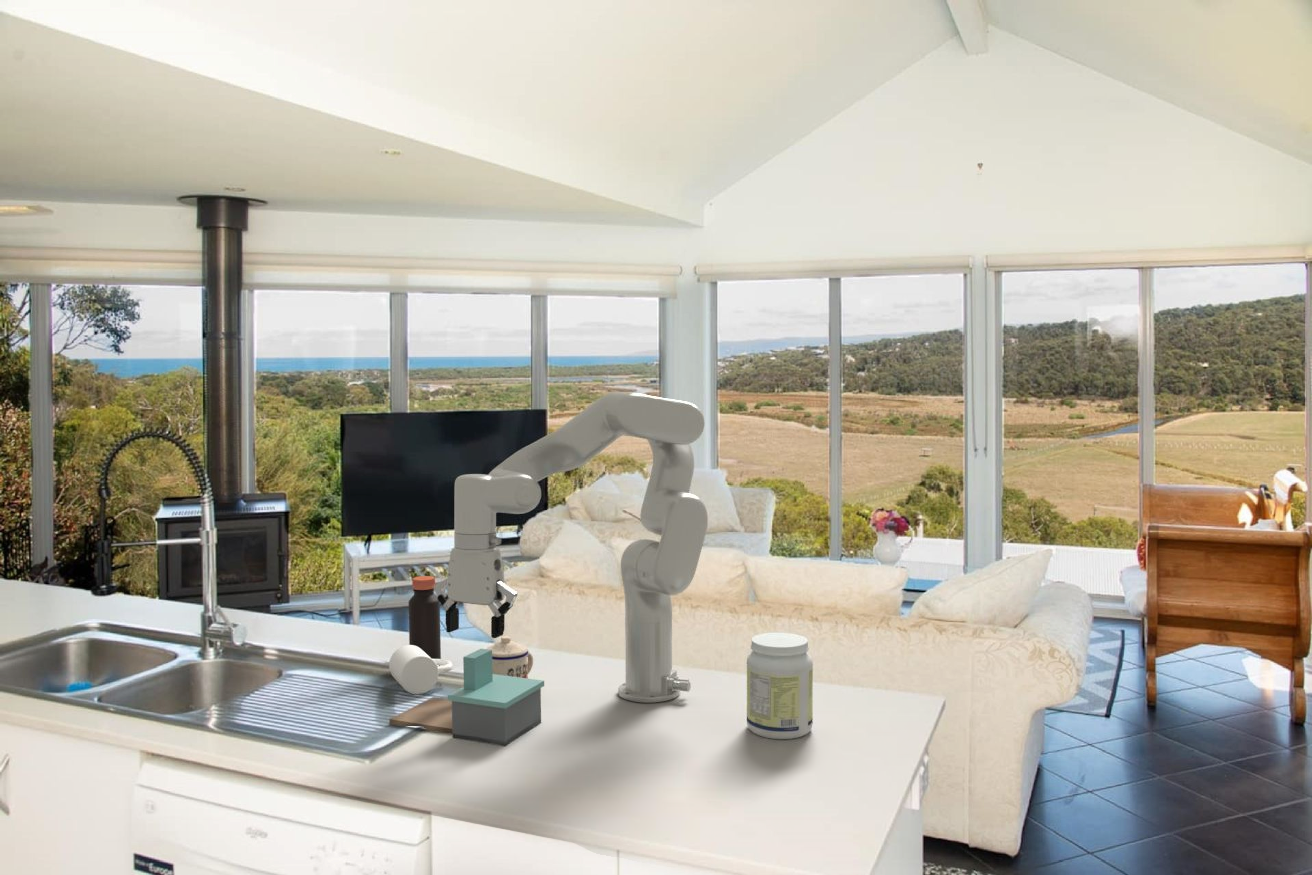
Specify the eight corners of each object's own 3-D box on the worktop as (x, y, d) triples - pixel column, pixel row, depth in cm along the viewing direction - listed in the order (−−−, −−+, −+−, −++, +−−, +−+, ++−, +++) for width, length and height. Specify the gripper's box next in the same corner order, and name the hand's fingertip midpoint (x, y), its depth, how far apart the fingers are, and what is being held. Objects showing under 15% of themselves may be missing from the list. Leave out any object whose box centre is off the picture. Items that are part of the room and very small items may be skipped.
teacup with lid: (506, 702, 210) (505, 645, 209) (474, 694, 215) (473, 638, 214) (547, 687, 219) (547, 632, 218) (516, 679, 225) (516, 626, 224)
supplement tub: (774, 713, 202) (774, 627, 201) (826, 729, 194) (826, 639, 192) (732, 729, 194) (732, 639, 193) (784, 746, 185) (785, 652, 184)
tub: (541, 722, 198) (540, 686, 197) (505, 745, 186) (504, 707, 185) (490, 715, 202) (490, 679, 202) (452, 737, 190) (451, 699, 190)
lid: (544, 691, 198) (543, 649, 197) (505, 715, 185) (504, 669, 184) (489, 684, 202) (488, 642, 202) (448, 706, 190) (447, 662, 189)
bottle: (447, 664, 237) (445, 576, 235) (428, 672, 230) (426, 582, 229) (422, 660, 239) (420, 574, 238) (403, 668, 233) (401, 579, 232)
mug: (400, 697, 214) (399, 658, 213) (389, 684, 222) (388, 647, 222) (458, 688, 219) (457, 651, 219) (444, 676, 228) (444, 639, 227)
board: (493, 710, 205) (493, 705, 205) (452, 734, 192) (452, 728, 192) (433, 701, 210) (433, 696, 210) (389, 724, 197) (389, 718, 197)
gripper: (526, 542, 193) (525, 634, 194) (447, 535, 200) (446, 624, 201) (505, 548, 186) (504, 643, 187) (423, 541, 193) (423, 632, 194)
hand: (474, 633), depth 194 cm, fingers open, 9 cm apart
